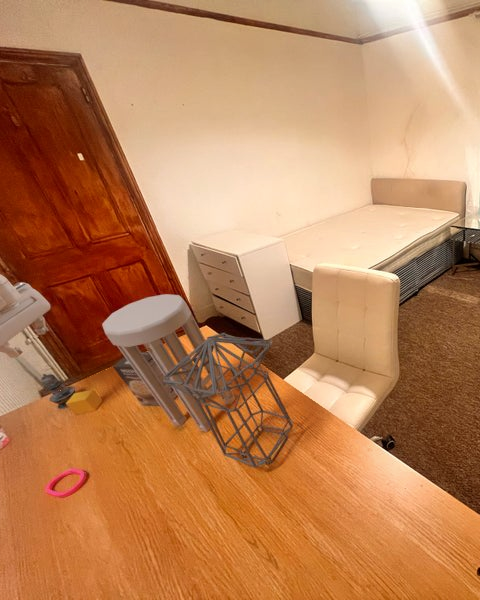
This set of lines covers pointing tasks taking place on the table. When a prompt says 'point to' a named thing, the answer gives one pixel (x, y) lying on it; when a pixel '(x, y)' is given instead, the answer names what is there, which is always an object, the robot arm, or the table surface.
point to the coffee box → (139, 380)
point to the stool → (163, 351)
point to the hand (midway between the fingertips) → (31, 343)
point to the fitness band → (70, 491)
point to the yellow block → (84, 402)
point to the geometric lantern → (203, 353)
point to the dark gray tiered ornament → (57, 390)
